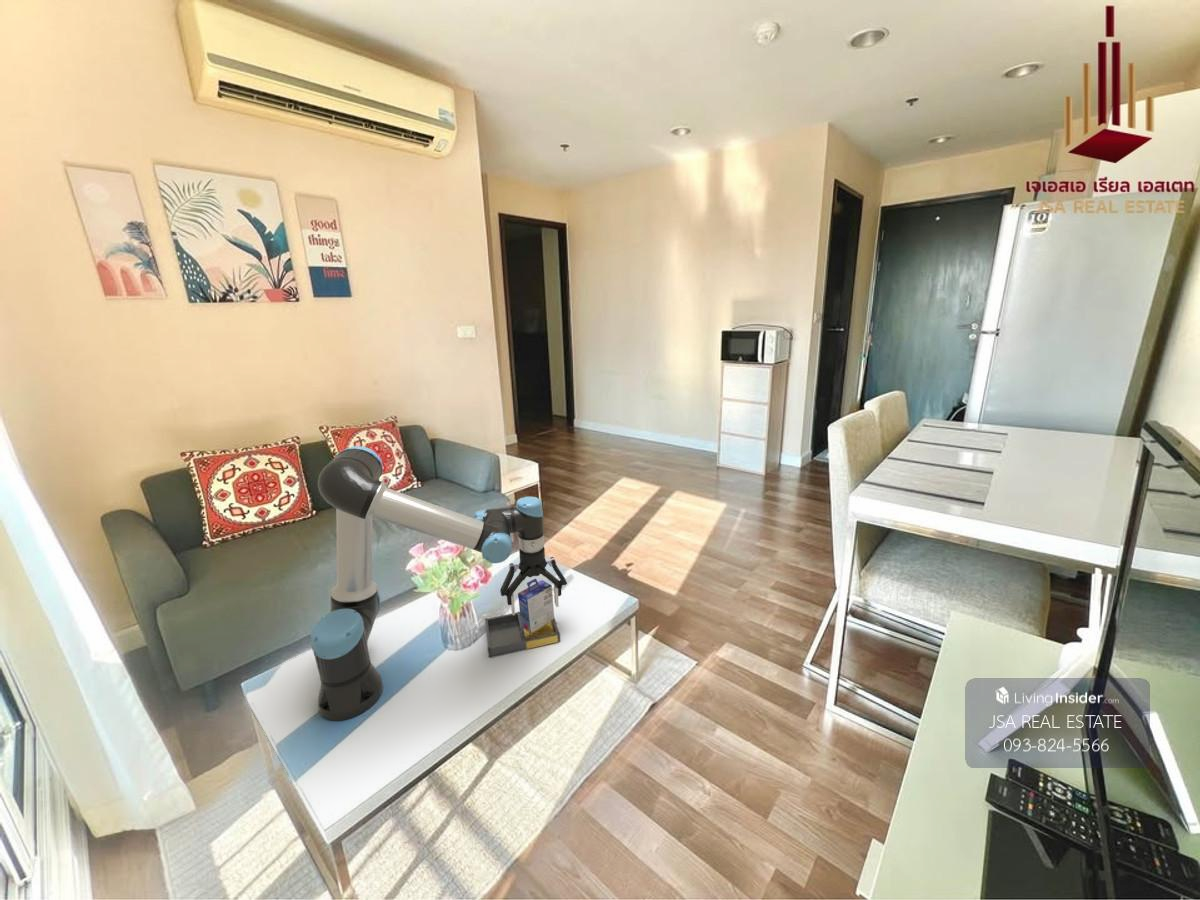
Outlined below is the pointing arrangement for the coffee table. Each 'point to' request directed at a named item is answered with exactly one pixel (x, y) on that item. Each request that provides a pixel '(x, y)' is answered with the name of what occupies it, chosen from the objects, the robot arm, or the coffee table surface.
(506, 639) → the tray
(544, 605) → the ink cartridge box
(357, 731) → the coffee table surface
